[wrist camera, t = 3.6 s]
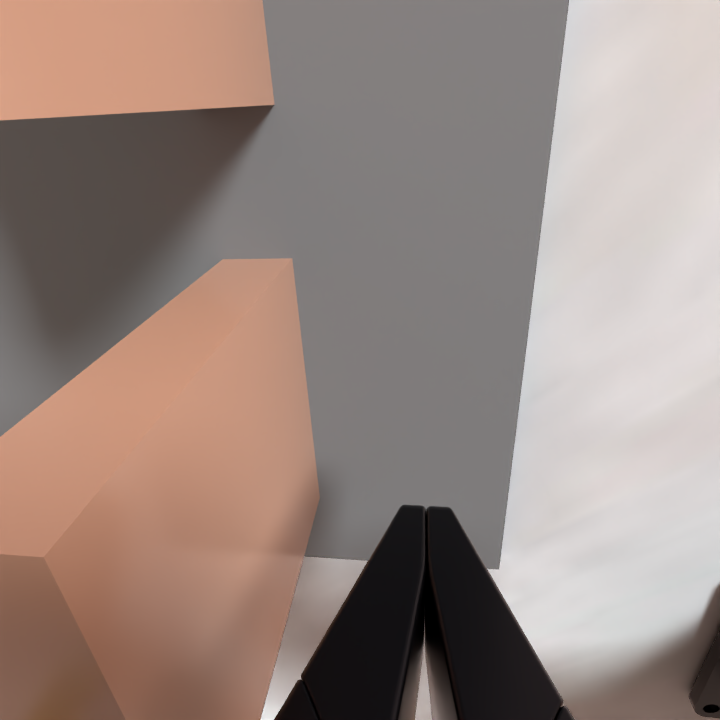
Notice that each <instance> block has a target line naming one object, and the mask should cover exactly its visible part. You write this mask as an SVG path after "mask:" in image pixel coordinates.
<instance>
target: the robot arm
mask: <svg viewBox="0 0 720 720" xmlns="http://www.w3.org/2000/svg"><path fill="white" fill-rule="evenodd" d="M424 619H425V653H426V664H427V674H428V683H429V692H430V702H431V711H432V720H574V718H573V716H572V714H571V713H570V711H569V709H568V708H567V707H566V706H563V699H562V698H561V696H560V694H559V692H558V691H557V689H556V687H555V686H554V684H553V682H552V680H551V679H550V677H549V675H548V673H547V672H546V670H545V668H544V667H543V665H542V663H541V661H540V660H539V658H538V656H537V654H536V653H535V651H534V649H533V648H532V646H531V644H530V642H529V641H528V639H527V637H526V636H525V634H524V632H523V630H522V629H521V627H520V625H519V623H518V622H517V620H516V618H515V617H514V615H513V613H512V611H511V610H510V608H509V606H508V604H507V603H506V601H505V599H504V598H503V596H502V594H501V592H500V591H499V589H498V587H497V585H496V584H495V582H494V580H493V579H492V577H491V575H490V573H489V572H488V570H487V568H486V566H485V565H484V563H483V561H482V560H481V558H480V556H479V554H478V553H477V551H476V549H475V547H474V546H473V544H472V542H471V541H470V539H469V537H468V535H467V534H466V532H465V530H464V528H463V527H462V525H461V523H460V522H459V520H458V518H457V516H456V515H455V513H454V511H453V510H452V509H451V508H450V507H441V506H429V507H427V509H426V508H425V507H424V506H422V505H402V506H401V507H400V508H399V509H398V511H397V513H396V515H395V516H394V518H393V520H392V521H391V523H390V525H389V526H388V528H387V530H386V532H385V533H384V535H383V537H382V538H381V540H380V542H379V543H378V545H377V547H376V549H375V550H374V552H373V554H372V555H371V557H370V559H369V560H368V562H367V564H366V566H365V567H364V569H363V571H362V572H361V574H360V576H359V577H358V579H357V581H356V583H355V584H354V586H353V588H352V589H351V591H350V593H349V594H348V596H347V598H346V600H345V601H344V603H343V605H342V606H341V608H340V610H339V611H338V613H337V615H336V617H335V618H334V620H333V622H332V623H331V625H330V627H329V628H328V630H327V632H326V634H325V635H324V637H323V639H322V640H321V642H320V644H319V645H318V647H317V649H316V651H315V652H314V654H313V656H312V657H311V659H310V661H309V662H308V664H307V666H306V668H305V669H304V671H303V673H302V675H301V679H302V680H298V681H297V682H296V684H295V686H294V687H293V689H292V691H291V693H290V694H289V696H288V698H287V699H286V701H285V703H284V704H283V706H282V708H281V709H280V711H279V712H278V714H277V716H276V717H275V719H274V720H415V714H416V706H417V698H418V690H419V681H420V673H421V665H422V656H423V646H424ZM689 699H690V701H691V703H692V706H693V708H694V710H695V712H696V713H697V714H699V715H701V716H705V717H713V718H720V630H719V632H718V634H717V636H716V639H715V641H714V643H713V645H712V647H711V649H710V651H709V653H708V656H707V658H706V660H705V662H704V664H703V666H702V668H701V670H700V672H699V675H698V677H697V679H696V681H695V683H694V685H693V687H692V689H691V692H690V694H689Z"/></svg>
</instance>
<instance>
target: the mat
mask: <svg viewBox="0 0 720 720" xmlns="http://www.w3.org/2000/svg"><path fill="white" fill-rule="evenodd" d="M568 5H569V0H263V9H264V18H265V26H266V35H267V44H268V52H269V61H270V70H271V78H272V87H273V96H274V104H275V105H262V106H245V107H227V108H210V109H192V110H175V111H157V112H140V113H122V114H105V115H87V116H70V117H52V118H35V119H17V120H0V437H1V436H2V435H3V434H4V433H6V432H7V431H8V430H9V429H11V428H12V427H13V426H14V425H16V424H17V423H18V422H19V421H21V420H22V419H23V418H24V417H26V416H27V415H28V414H29V413H31V412H32V411H33V410H34V409H36V408H37V407H38V406H39V405H41V404H42V403H43V402H45V401H46V400H47V399H48V398H50V397H51V396H52V395H53V394H55V393H56V392H57V391H58V390H60V389H61V388H62V387H63V386H65V385H66V384H67V383H68V382H70V381H71V380H72V379H73V378H75V377H76V376H77V375H78V374H80V373H81V372H82V371H83V370H85V369H86V368H87V367H88V366H90V365H91V364H92V363H93V362H95V361H96V360H97V359H98V358H100V357H101V356H102V355H103V354H105V353H106V352H107V351H108V350H110V349H111V348H112V347H113V346H115V345H116V344H117V343H118V342H120V341H121V340H122V339H123V338H125V337H126V336H127V335H128V334H130V333H131V332H132V331H133V330H135V329H136V328H137V327H138V326H140V325H141V324H142V323H143V322H145V321H146V320H147V319H149V318H150V317H151V316H152V315H154V314H155V313H156V312H157V311H159V310H160V309H161V308H162V307H164V306H165V305H166V304H167V303H169V302H170V301H171V300H172V299H174V298H175V297H176V296H177V295H179V294H180V293H181V292H182V291H184V290H185V289H186V288H187V287H189V286H190V285H191V284H192V283H194V282H195V281H196V280H197V279H199V278H200V277H201V276H202V275H204V274H205V273H206V272H207V271H209V270H210V269H211V268H212V267H214V266H215V265H216V264H217V263H219V262H220V261H221V260H222V259H280V258H292V260H293V269H294V278H295V286H296V295H297V304H298V312H299V321H300V330H301V338H302V347H303V356H304V364H305V373H306V382H307V390H308V399H309V408H310V416H311V425H312V434H313V442H314V451H315V460H316V468H317V477H318V486H319V494H320V499H319V502H318V506H317V510H316V514H315V517H314V521H313V525H312V529H311V532H310V536H309V540H308V544H307V547H306V551H305V555H304V556H307V557H322V558H337V559H352V560H367V561H368V560H369V559H370V557H371V555H372V554H373V552H374V550H375V549H376V547H377V545H378V543H379V542H380V540H381V538H382V537H383V535H384V533H385V532H386V530H387V528H388V526H389V525H390V523H391V521H392V520H393V518H394V516H395V515H396V513H397V511H398V509H399V508H400V507H401V506H402V505H422V506H424V507H425V508H426V509H427V507H429V506H441V507H450V508H451V509H452V510H453V511H454V513H455V515H456V516H457V518H458V520H459V522H460V523H461V525H462V527H463V528H464V530H465V532H466V534H467V535H468V537H469V539H470V541H471V542H472V544H473V546H474V547H475V549H476V551H477V553H478V554H479V556H480V558H481V560H482V561H483V563H484V565H485V566H486V568H487V569H499V564H500V556H501V548H502V540H503V532H504V524H505V516H506V508H507V500H508V491H509V483H510V475H511V467H512V459H513V451H514V443H515V435H516V427H517V419H518V410H519V402H520V394H521V386H522V378H523V370H524V362H525V354H526V346H527V337H528V329H529V321H530V313H531V305H532V297H533V289H534V281H535V273H536V264H537V256H538V248H539V240H540V232H541V224H542V216H543V208H544V200H545V192H546V183H547V175H548V167H549V159H550V151H551V143H552V135H553V127H554V119H555V110H556V102H557V94H558V86H559V78H560V70H561V62H562V54H563V46H564V37H565V29H566V21H567V13H568Z"/></svg>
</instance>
